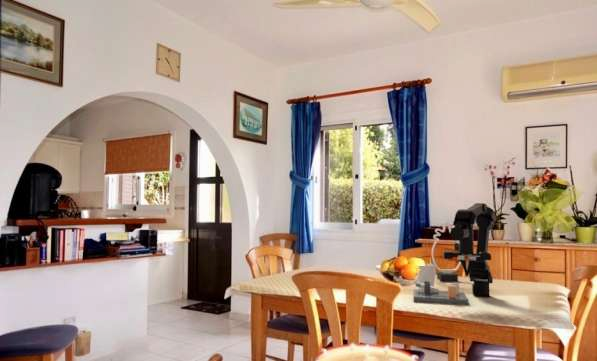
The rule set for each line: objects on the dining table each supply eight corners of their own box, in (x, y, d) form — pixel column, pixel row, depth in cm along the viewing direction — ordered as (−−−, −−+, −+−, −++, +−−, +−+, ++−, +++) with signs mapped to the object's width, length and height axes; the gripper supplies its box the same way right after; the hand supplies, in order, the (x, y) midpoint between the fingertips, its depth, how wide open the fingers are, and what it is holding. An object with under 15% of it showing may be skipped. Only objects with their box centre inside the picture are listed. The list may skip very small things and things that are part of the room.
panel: (463, 296, 195) (463, 282, 195) (468, 304, 180) (468, 289, 180) (413, 293, 201) (413, 280, 201) (413, 301, 185) (413, 287, 186)
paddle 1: (458, 292, 193) (458, 281, 194) (459, 294, 191) (459, 282, 191) (451, 292, 194) (451, 281, 194) (451, 293, 191) (451, 282, 192)
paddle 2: (455, 296, 186) (455, 284, 186) (456, 297, 183) (456, 286, 184) (447, 295, 187) (447, 284, 187) (448, 297, 184) (448, 285, 184)
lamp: (460, 278, 239) (459, 221, 240) (465, 281, 230) (464, 222, 231) (429, 278, 240) (429, 221, 241) (433, 281, 231) (432, 221, 233)
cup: (436, 292, 205) (436, 266, 205) (417, 291, 206) (416, 265, 207) (434, 288, 213) (434, 263, 214) (415, 287, 215) (415, 263, 216)
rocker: (437, 290, 196) (438, 287, 196) (438, 292, 192) (439, 289, 192) (415, 284, 199) (416, 281, 199) (415, 286, 195) (416, 283, 195)
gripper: (486, 237, 190) (487, 273, 190) (441, 236, 195) (442, 271, 194) (491, 240, 179) (491, 278, 179) (443, 239, 184) (444, 276, 183)
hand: (466, 275), depth 184 cm, fingers closed
